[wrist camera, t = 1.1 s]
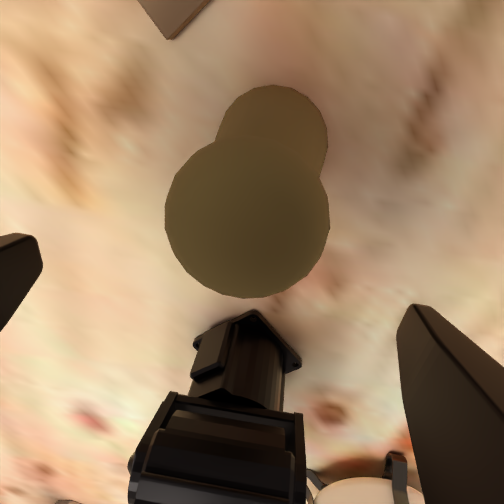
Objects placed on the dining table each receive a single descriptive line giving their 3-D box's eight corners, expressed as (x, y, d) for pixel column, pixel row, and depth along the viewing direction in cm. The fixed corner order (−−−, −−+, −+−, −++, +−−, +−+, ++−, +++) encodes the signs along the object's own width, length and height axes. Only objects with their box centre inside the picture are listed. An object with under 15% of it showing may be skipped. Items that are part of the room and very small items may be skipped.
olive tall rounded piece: (312, 66, 17) (320, 100, 7) (338, 181, 19) (367, 311, 10) (201, 107, 18) (92, 176, 9) (239, 207, 21) (186, 339, 12)
